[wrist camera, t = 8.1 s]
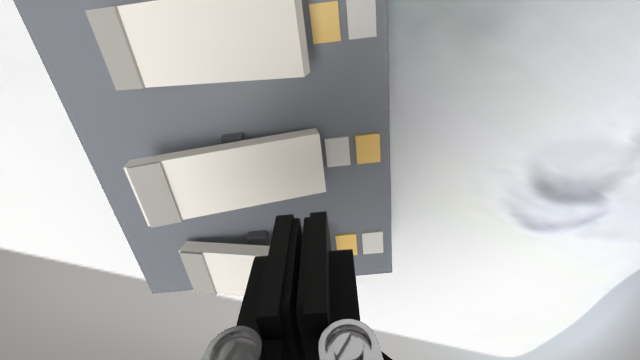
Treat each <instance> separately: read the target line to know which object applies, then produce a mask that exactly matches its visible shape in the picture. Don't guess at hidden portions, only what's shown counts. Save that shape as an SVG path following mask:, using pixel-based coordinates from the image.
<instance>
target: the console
mask: <svg viewBox="0 0 640 360" xmlns="http://www.w3.org/2000/svg"><path fill="white" fill-rule="evenodd" d="M13 1H14V3H15V5H16V7H17V9H18V11H19V13H20V15H21V17H22V20H23V22H24V24H25V26H26V28H27V30H28V32H29V34H30V36H31V39H32V41H33V43H34V45H35V47H36V49H37V51H38V53H39V55H40V57H41V60H42V62H43V64H44V66H45V68H46V70H47V72H48V74H49V76H50V79H51V81H52V83H53V85H54V87H55V89H56V91H57V93H58V95H59V97H60V100H61V102H62V104H63V106H64V108H65V110H66V112H67V114H68V116H69V119H70V121H71V123H72V125H73V127H74V129H75V131H76V133H77V135H78V137H79V140H80V142H81V144H82V146H83V148H84V150H85V152H86V154H87V156H88V159H89V161H90V163H91V165H92V167H93V169H94V171H95V173H96V175H97V177H98V180H99V182H100V184H101V186H102V188H103V190H104V192H105V194H106V196H107V199H108V201H109V203H110V205H111V207H112V209H113V211H114V213H115V215H116V217H117V220H118V222H119V224H120V226H121V228H122V230H123V232H124V234H125V236H126V239H127V241H128V243H129V245H130V247H131V249H132V251H133V253H134V255H135V257H136V260H137V262H138V264H139V266H140V268H141V270H142V272H143V274H144V276H145V279H146V281H147V283H148V285H149V287H150V289H151V291H152V293H163V292H175V291H186V290H194V289H193V287H192V284H191V282H190V279H189V277H188V274H187V272H186V269H185V267H184V264H183V262H182V259H181V256H180V254H179V249H180V248H181V247H182V246H183V245H184V244H185V243H186V241H195V242H212V243H229V244H246V245H263V246H270V243H271V238H272V233H273V229H274V224H275V219H276V216H277V215H288V214H293V215H294V218H300V221H301V226H302V232H303V225H304V217H310V213H312V212H324V211H326V212H327V217H328V225H329V233H330V241H331V249H332V251H333V250H346V249H353V258H354V267H355V276H357V275H368V274H380V273H391V272H392V247H391V190H390V132H389V75H388V17H387V0H302V9H303V17H304V25H305V33H306V41H307V49H308V58H309V66H310V73H309V74H307V75H306V76H305V77H297V78H282V79H267V80H252V81H238V82H223V83H208V84H193V85H178V86H163V87H149V88H143V89H131V90H116V89H115V86H114V83H113V81H112V78H111V76H110V73H109V71H108V68H107V66H106V63H105V60H104V58H103V55H102V53H101V50H100V48H99V45H98V43H97V40H96V38H95V35H94V32H93V30H92V27H91V25H90V22H89V20H88V17H87V15H86V12H85V10H92V9H99V8H106V7H113V6H121V5H128V4H135V3H142V2H149V1H156V0H13ZM312 128H316V129H317V130H318V132H319V135H320V143H321V152H322V160H323V168H324V177H325V185H326V192H323V193H318V194H313V195H308V196H302V197H297V198H292V199H287V200H282V201H277V202H272V203H267V204H262V205H256V206H251V207H246V208H241V209H236V210H231V211H226V212H221V213H215V214H210V215H205V216H200V217H195V218H190V219H185V220H182V222H179V223H174V224H169V225H164V226H159V227H154V228H151V226H149V227H148V224H147V222H146V220H145V217H144V215H143V213H142V210H141V208H140V206H139V203H138V201H137V199H136V196H135V194H134V192H133V189H132V187H131V185H130V182H129V180H128V178H127V175H126V173H125V171H124V168H123V167H124V166H125V165H126V164H127V162H128V161H129V160H132V159H138V158H144V157H149V156H155V155H161V154H167V153H173V152H178V151H184V150H190V149H196V148H202V147H207V146H213V145H219V144H225V143H231V142H236V141H242V140H248V139H254V138H260V137H265V136H271V135H277V134H283V133H289V132H294V131H300V130H306V129H312Z"/></svg>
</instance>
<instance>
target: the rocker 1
mask: <svg viewBox="0 0 640 360" xmlns="http://www.w3.org/2000/svg"><path fill="white" fill-rule="evenodd" d="M85 12H86V15H87V17H88V20H89V22H90V25H91V27H92V30H93V32H94V35H95V38H96V40H97V43H98V45H99V48H100V50H101V53H102V55H103V58H104V60H105V63H106V66H107V68H108V71H109V73H110V76H111V78H112V81H113V83H114V86H115V89H116V90H131V89H143V88H149V87H163V86H178V85H193V84H208V83H223V82H238V81H252V80H267V79H282V78H297V77H305V76H306V75H307V74H309V73H310V66H309V58H308V49H307V41H306V33H305V25H304V17H303V9H302V0H156V1H149V2H142V3H135V4H128V5H121V6H113V7H106V8H99V9H92V10H85Z"/></svg>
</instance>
